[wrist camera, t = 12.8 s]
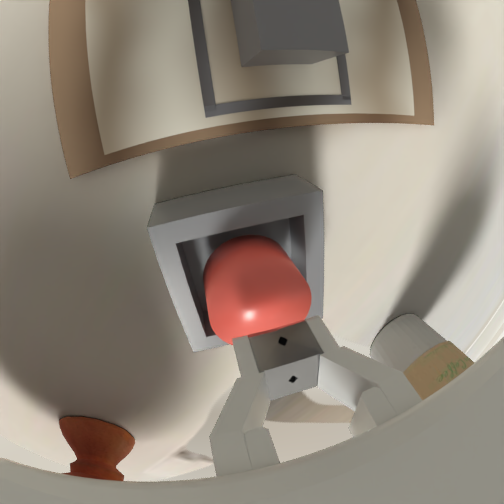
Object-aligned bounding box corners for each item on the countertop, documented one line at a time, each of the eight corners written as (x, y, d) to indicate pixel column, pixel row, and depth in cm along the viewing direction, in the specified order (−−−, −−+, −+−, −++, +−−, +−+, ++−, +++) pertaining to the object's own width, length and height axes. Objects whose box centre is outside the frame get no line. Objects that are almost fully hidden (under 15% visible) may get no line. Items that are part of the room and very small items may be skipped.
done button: (213, 317, 13) (221, 357, 11) (193, 246, 11) (196, 281, 9) (291, 298, 14) (311, 332, 11) (286, 225, 12) (310, 254, 9)
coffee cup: (435, 281, 20) (541, 390, 8) (422, 342, 25) (493, 434, 12) (350, 329, 20) (451, 484, 7) (352, 383, 25) (416, 495, 12)
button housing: (190, 315, 16) (193, 352, 13) (154, 203, 12) (146, 227, 10) (302, 287, 17) (322, 318, 14) (295, 174, 13) (322, 190, 11)
